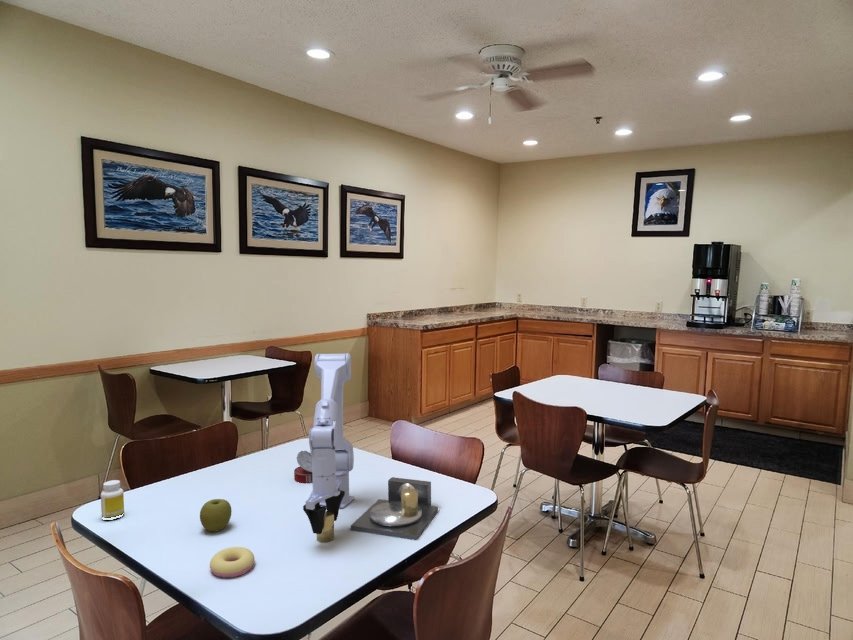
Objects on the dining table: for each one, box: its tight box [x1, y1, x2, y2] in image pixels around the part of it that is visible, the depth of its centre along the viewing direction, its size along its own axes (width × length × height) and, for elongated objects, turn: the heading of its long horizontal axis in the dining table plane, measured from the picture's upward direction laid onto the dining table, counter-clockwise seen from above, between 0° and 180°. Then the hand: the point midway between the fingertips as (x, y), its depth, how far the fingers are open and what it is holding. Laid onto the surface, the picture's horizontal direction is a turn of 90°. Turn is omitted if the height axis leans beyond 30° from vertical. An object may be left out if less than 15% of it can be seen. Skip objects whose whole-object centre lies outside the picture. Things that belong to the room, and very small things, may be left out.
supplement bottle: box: [100, 479, 125, 518], centre depth 149 cm, size 5×5×10 cm
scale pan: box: [370, 501, 422, 526], centre depth 146 cm, size 14×14×1 cm
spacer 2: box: [401, 489, 418, 517], centre depth 145 cm, size 4×4×6 cm
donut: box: [209, 546, 255, 578], centre depth 123 cm, size 10×5×9 cm
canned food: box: [293, 450, 313, 484], centre depth 179 cm, size 11×10×10 cm
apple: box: [199, 498, 233, 533], centre depth 142 cm, size 8×8×7 cm
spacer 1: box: [315, 510, 335, 543], centre depth 136 cm, size 4×4×6 cm
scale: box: [350, 476, 439, 541], centre depth 148 cm, size 18×21×7 cm
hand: (325, 526), depth 136 cm, fingers open, 7 cm apart
